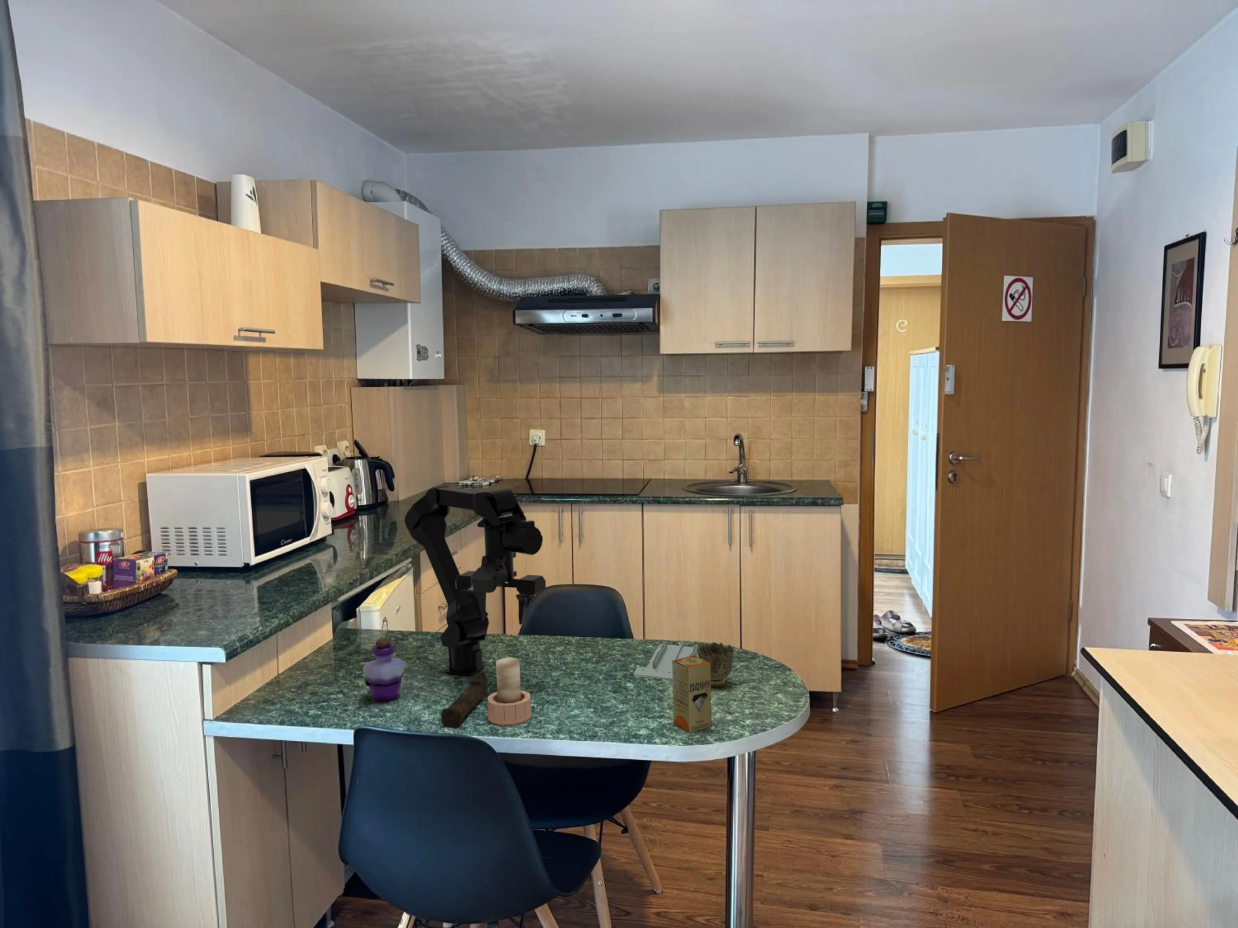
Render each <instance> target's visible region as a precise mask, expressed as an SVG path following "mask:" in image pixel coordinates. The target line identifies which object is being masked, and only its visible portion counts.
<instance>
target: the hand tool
mask: <svg viewBox="0 0 1238 928" xmlns="http://www.w3.org/2000/svg"><path fill="white" fill-rule="evenodd" d="M487 688H488V678H487V674H486V673H484V672H482V673H478V674H476V675H475V676H474V677H472V678H471V679H470V681H469V686H468V687H467V688H466V689H465V690H464V691H463V692H462V693H461V694H460V695H459V696H458V697H457V698H456V699H455V700H454V701H453V702H452V703H451V704H450V705H449V706H448V707H446V708H443V709H442V710H441V713H440V719H441V722H440V723H441V724H442V725H443V726H444V727H448V728H449V727H450V728H458V727H460V726H461V724H462V723H463V720H464V719H465V717H466V716H467V714H468V713H469V712H470V711H472V710H473V708H474V707H475V706H476V705H477V704H478V702H483V701H484V700H485V698H486V696H487V691H488V689H487Z"/></svg>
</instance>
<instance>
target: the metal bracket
mask: <svg viewBox="0 0 1238 928" xmlns="http://www.w3.org/2000/svg"><path fill="white" fill-rule="evenodd" d="M698 649H699V644H696V643H695V644H694V645H693V646H687V645H686V646H685V642H684V640H681V644H680V645H674V644H673V645H672V644H668V641H666V640H664V641H662V644H661V643H660V644H658V646H657V647H656V650H655V652H654V654H653V655H652V657H651V658H650V661H649V663H648V665H647V666H646V667H644V666H643V667H642V666H641V667H640V666H638V667H636V669H635V670H634V672H633V676H634V677H640V678H642V677H643V678H653V679H660V680H670V681H673V670H672V660H676V659H681V658H685V657H689V656H693V655H694V656H697V657H699V656H698Z"/></svg>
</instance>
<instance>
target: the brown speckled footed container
mask: <svg viewBox="0 0 1238 928" xmlns="http://www.w3.org/2000/svg"><path fill="white" fill-rule="evenodd" d="M698 648H699V649H698V656H699V658H701V659H704V660H706V661H708V662H710V664H711V688H719V687H720V688H721V687H723V686H724V685H725V683H726V680H725V679H726V678H728V677H729V675H730V674H731V672H732V667H733V660H734V650H735V649H734V648H735V647H734V646H732V645H731V644H730V643H729V644H728V645H727V646H724V643H723V642H719V644H718V643H717V642H715V641H714V642H711V643H710V644H709V643H707V642H706V643H705V645H704V644H698Z"/></svg>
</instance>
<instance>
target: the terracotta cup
mask: <svg viewBox="0 0 1238 928" xmlns="http://www.w3.org/2000/svg"><path fill="white" fill-rule="evenodd" d="M531 700H532V699H531V694H530V693H529V692H527V691H525V690H522V689H521V701H518V702H515V703H506V704H505V703H498V697H497V691H495V692H493V693H491V694H490V695H488V696H487V720H488V721H489V723H491V724H494V725H496V726H515V725H519V724H523V723H525V722H527V721H529V720H530V719H531V718H532V707H531V706H532V704H531Z"/></svg>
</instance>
